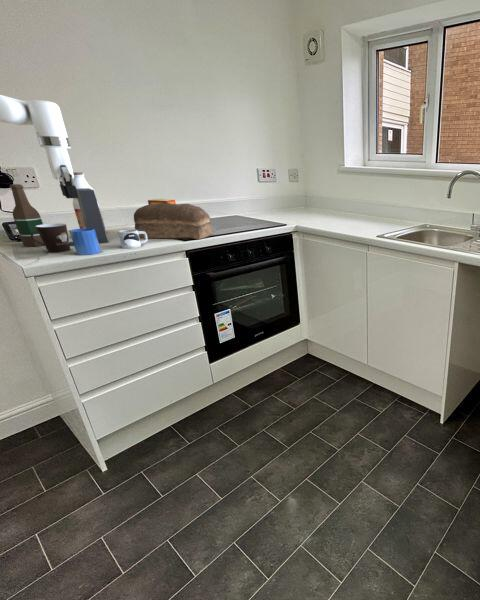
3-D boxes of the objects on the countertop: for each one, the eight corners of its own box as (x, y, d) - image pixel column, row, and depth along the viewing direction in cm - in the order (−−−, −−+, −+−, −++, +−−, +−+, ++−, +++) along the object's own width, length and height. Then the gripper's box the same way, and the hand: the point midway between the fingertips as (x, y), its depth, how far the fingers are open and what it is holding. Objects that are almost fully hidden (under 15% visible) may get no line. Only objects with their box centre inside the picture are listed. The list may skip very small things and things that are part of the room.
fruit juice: (94, 235, 165) (76, 172, 155) (76, 234, 166) (57, 172, 156) (111, 232, 174) (95, 172, 164) (94, 231, 175) (77, 171, 165)
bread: (203, 240, 164) (197, 205, 159) (132, 238, 162) (123, 203, 157) (216, 234, 178) (211, 202, 172) (151, 232, 176) (144, 200, 170)
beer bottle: (50, 242, 150) (30, 183, 142) (49, 245, 145) (28, 185, 136) (24, 244, 146) (3, 183, 137) (22, 248, 140) (-1, 185, 131)
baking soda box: (180, 230, 184) (174, 198, 179) (173, 232, 178) (166, 200, 173) (162, 229, 185) (156, 198, 179) (154, 231, 178) (147, 199, 173)
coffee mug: (68, 247, 144) (61, 222, 140) (77, 250, 139) (69, 225, 136) (30, 252, 134) (20, 226, 131) (38, 255, 130) (29, 229, 126)
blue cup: (78, 256, 132) (70, 232, 129) (75, 252, 136) (68, 229, 133) (102, 253, 137) (95, 230, 134) (98, 249, 141) (92, 227, 138)
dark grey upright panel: (59, 247, 143) (41, 191, 135) (55, 242, 151) (38, 189, 143) (108, 242, 154) (94, 190, 146) (103, 237, 162) (89, 188, 154)
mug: (126, 249, 144) (121, 232, 142) (118, 246, 147) (114, 230, 145) (152, 245, 152) (149, 229, 149) (145, 242, 155) (141, 227, 153)
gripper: (37, 142, 118) (54, 195, 124) (40, 142, 107) (58, 199, 113) (67, 144, 123) (81, 194, 130) (73, 143, 112) (88, 198, 119)
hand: (70, 196), depth 121 cm, fingers open, 9 cm apart
